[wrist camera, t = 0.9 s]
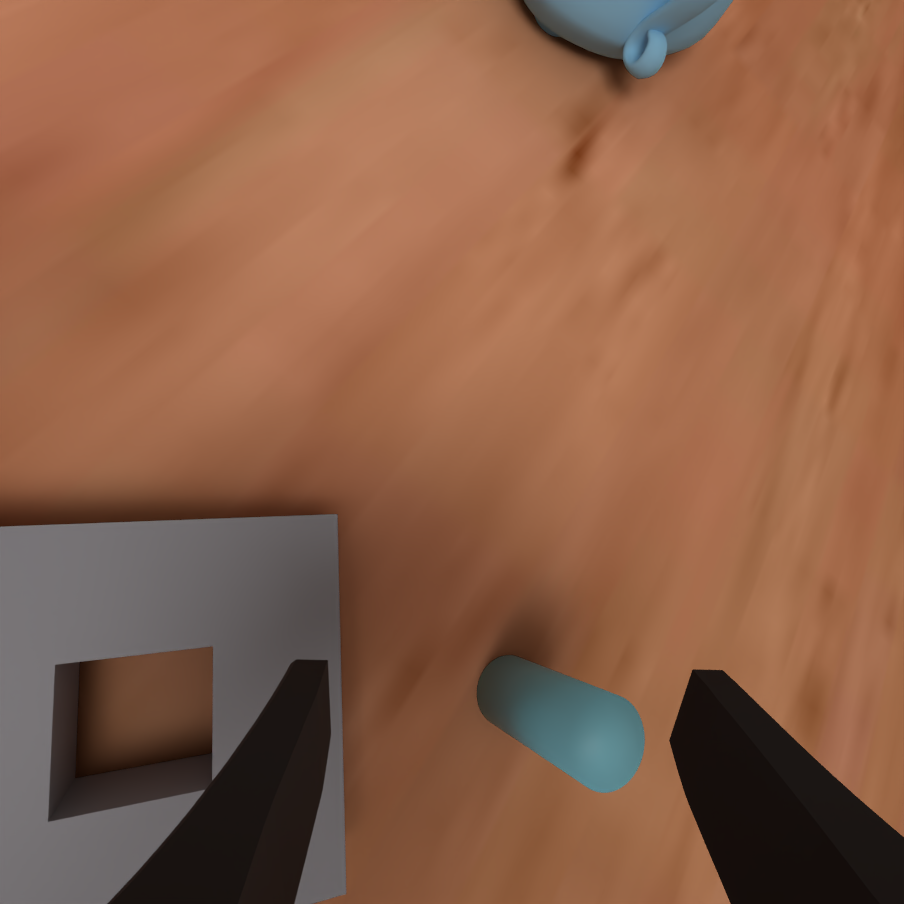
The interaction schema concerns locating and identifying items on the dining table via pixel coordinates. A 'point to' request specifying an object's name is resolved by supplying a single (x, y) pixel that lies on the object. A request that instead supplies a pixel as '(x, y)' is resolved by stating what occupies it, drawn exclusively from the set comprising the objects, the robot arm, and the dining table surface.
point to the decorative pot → (630, 27)
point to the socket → (144, 632)
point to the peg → (564, 721)
